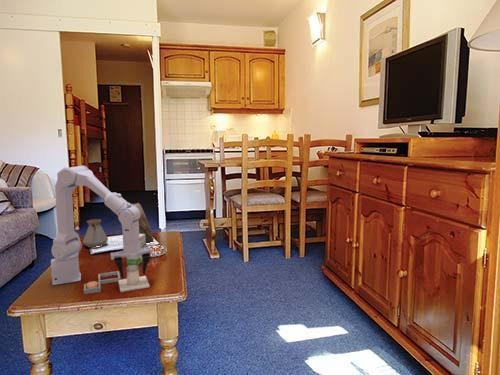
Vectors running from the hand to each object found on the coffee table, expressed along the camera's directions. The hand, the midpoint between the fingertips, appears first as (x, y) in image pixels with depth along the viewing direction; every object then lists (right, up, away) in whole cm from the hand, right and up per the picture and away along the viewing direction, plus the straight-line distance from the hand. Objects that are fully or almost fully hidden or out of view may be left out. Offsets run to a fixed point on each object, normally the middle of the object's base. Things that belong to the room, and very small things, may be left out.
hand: (133, 275), depth 133 cm
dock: (-12, -3, +1) cm, 12 cm away
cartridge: (0, -3, 0) cm, 3 cm away
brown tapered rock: (-12, +4, +50) cm, 52 cm away
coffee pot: (-32, +2, +42) cm, 53 cm away
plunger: (-13, -4, -4) cm, 14 cm away
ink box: (-6, 0, +24) cm, 25 cm away
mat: (0, -4, +1) cm, 4 cm away
